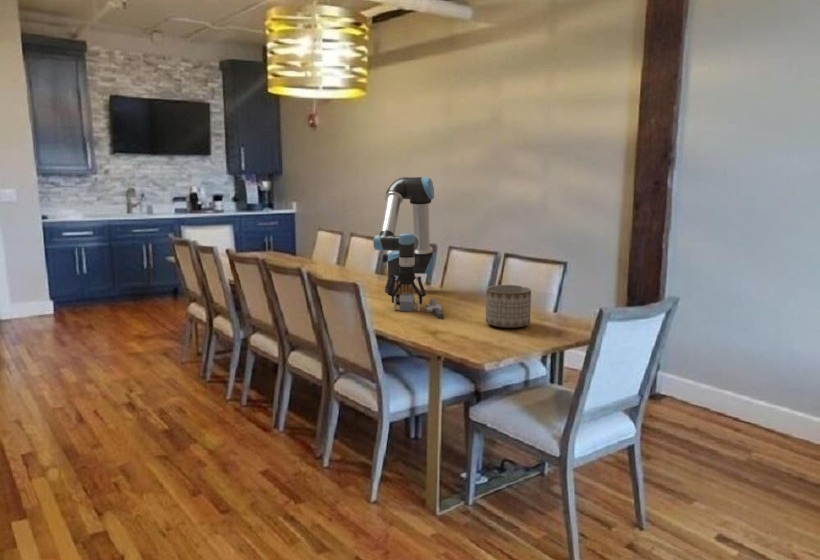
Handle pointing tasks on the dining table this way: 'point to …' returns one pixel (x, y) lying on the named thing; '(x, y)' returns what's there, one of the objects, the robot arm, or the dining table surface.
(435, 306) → the metal ladle
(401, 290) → the ammunition clip
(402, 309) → the grey rectangular block
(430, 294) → the dining table surface
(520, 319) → the planter
